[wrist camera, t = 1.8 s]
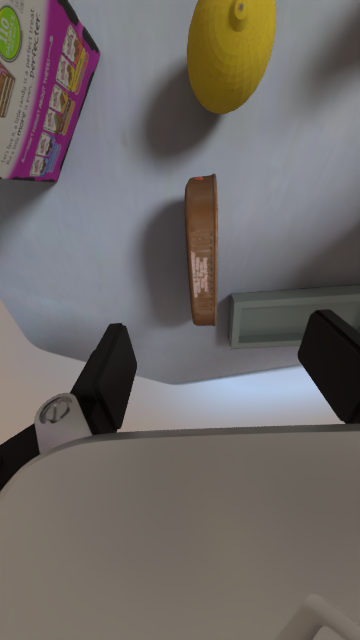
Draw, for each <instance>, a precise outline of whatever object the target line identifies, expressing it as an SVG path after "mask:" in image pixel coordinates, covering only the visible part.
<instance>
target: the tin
mask: <svg viewBox="0 0 360 640" xmlns="http://www.w3.org/2000/svg"><path fill="white" fill-rule="evenodd" d="M216 182H217V181H216V175H215V174H212V175H210V176H203V177H194V178H190V179H189V181H188V183H187V185H186V188H185V226H186V244H187V260H188V274H189V287H190V298H191V310H192V318H193V323H194V324H195V325H199V326H205V325H213V326H216V321H217V247H218V205H217V183H216Z"/></svg>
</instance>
